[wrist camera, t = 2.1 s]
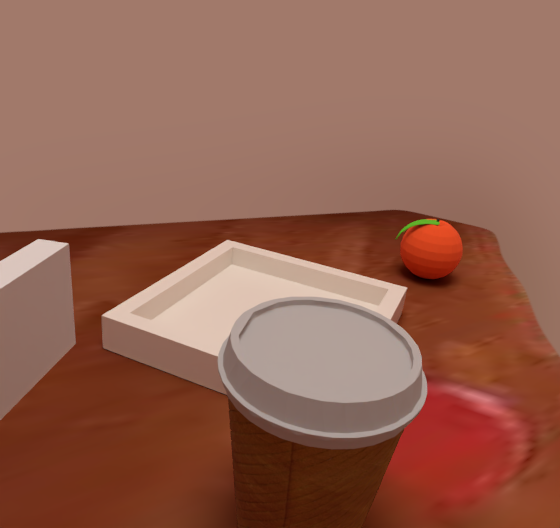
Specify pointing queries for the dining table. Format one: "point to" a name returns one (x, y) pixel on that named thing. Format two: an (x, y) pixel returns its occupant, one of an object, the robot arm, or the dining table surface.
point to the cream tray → (226, 306)
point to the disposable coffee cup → (315, 409)
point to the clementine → (430, 248)
